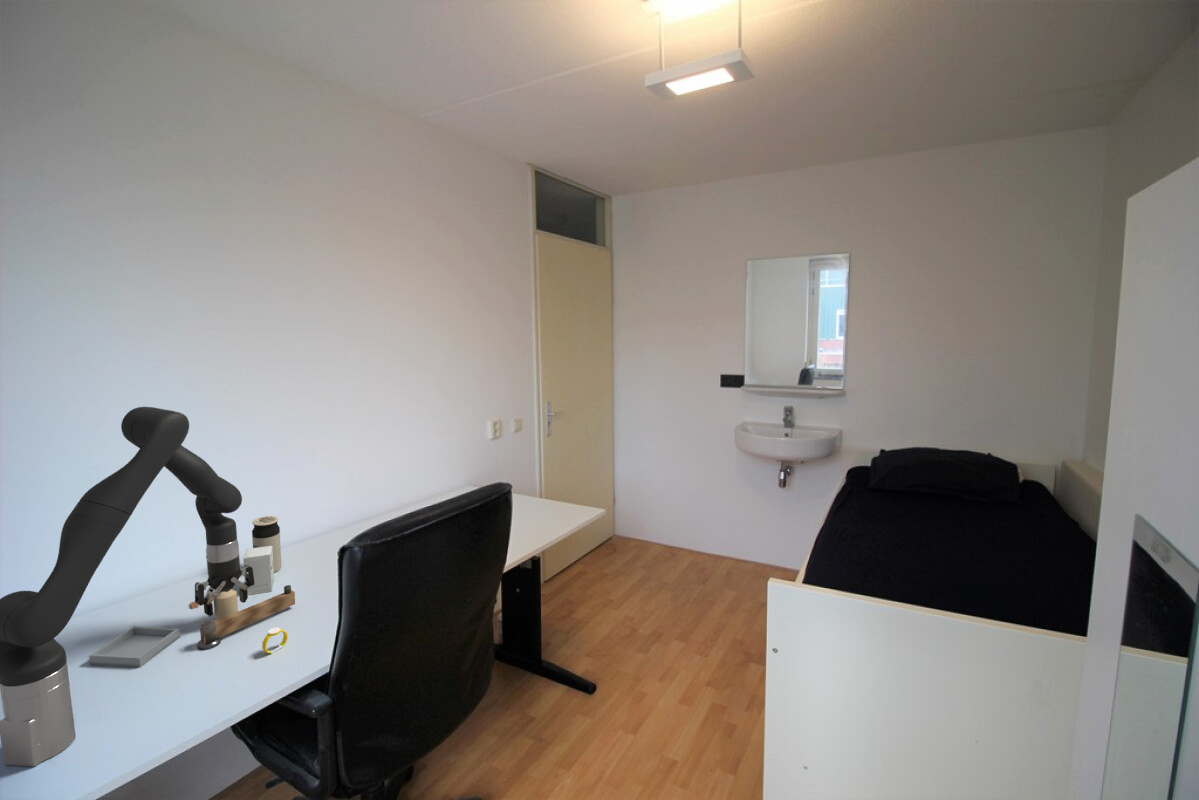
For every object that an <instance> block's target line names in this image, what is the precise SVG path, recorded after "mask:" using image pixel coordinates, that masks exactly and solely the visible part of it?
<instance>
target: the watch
mask: <svg viewBox="0 0 1199 800" xmlns="http://www.w3.org/2000/svg"><path fill="white" fill-rule="evenodd" d="M280 633H282V636H283V637H282V640H281V642H280V643H279V645H282V646H283V645H284V646H285V645H286V644H287V640H288V632H286V631H285V630H284V629H282V628H280V627H278V626H277V627H272V628H270V629H269V630H268V632H267V635H266V636H265V637H264V639H263V641H262V644H261V646H262V650H263V651H264V652H265V653H266V654H269V653H271V652H270V650H269V649H267V645H268V642H269V640H270V639H271V637H273V636H277V635H279V634H280Z"/></svg>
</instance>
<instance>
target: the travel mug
mask: <svg viewBox="0 0 1199 800" xmlns="http://www.w3.org/2000/svg"><path fill="white" fill-rule="evenodd" d="M278 521H279V517H277V516H275V515H274V516H273V515H269V516H266V515H265V516H262V517H258V518H255V519H253V520H252V522H251V523H252V525H253V529H252V530H251V535H252V536H251V537H252V548H258V547H266V546H272V547H273V568H274V573H275V572H278V571H279V570H280V569H282V552H281V551H282V549H281V548H282V547H281V528H280V526H279V524H278Z"/></svg>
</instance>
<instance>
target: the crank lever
mask: <svg viewBox="0 0 1199 800" xmlns="http://www.w3.org/2000/svg"><path fill="white" fill-rule="evenodd" d="M295 593H296V592H295V591H293V589H292V586H291V585H290V584H287V585H285V586H284V587H283V592H282V593H279V594H278V595H277V594H276V595H275V596H272V597H270V598H268V599H265V600H263V601H260V602H258V603H256V604H254V605H251V606H248V607H246V608H243V609H242V610H238V612H236V613H234V614H231V615H229V616H226V617H224V618H222V619H219V620H217V621H215V620H207V621H204V622H202V623H201V624H200V627H199V632H200V634H199V635H200V640H201V642H202V643H204V644H206V643H211V642H213V641H215V640H216V639H217V638H219V637H221V638H222V637H223V636H225V635H228V634H230V633H233V632H235V631H237V630H239V629H242V628H244V627H246V626H248V625H250V624H253V623H255V622H258V621H260V620H263V619H265V618H266V617H269V616H271V615H273V614H275V613H278V612H281V611H282V610H285V609H287V608H290V607H292V606H294V605H296V595H295Z"/></svg>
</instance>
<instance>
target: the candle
mask: <svg viewBox="0 0 1199 800" xmlns="http://www.w3.org/2000/svg"><path fill="white" fill-rule="evenodd" d="M238 606H239V605H238V591H237V589H235V588H234V587H233V588H230V589H226V590H225V591H222V592H221V591H220V592H219V594H218V595H217V597H215V598H214V600H213V616H214V621H217V620H219V619H222V618H224V617H226V616H229V615H231V614H234V613H236V612H238V611H239V607H238Z"/></svg>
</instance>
